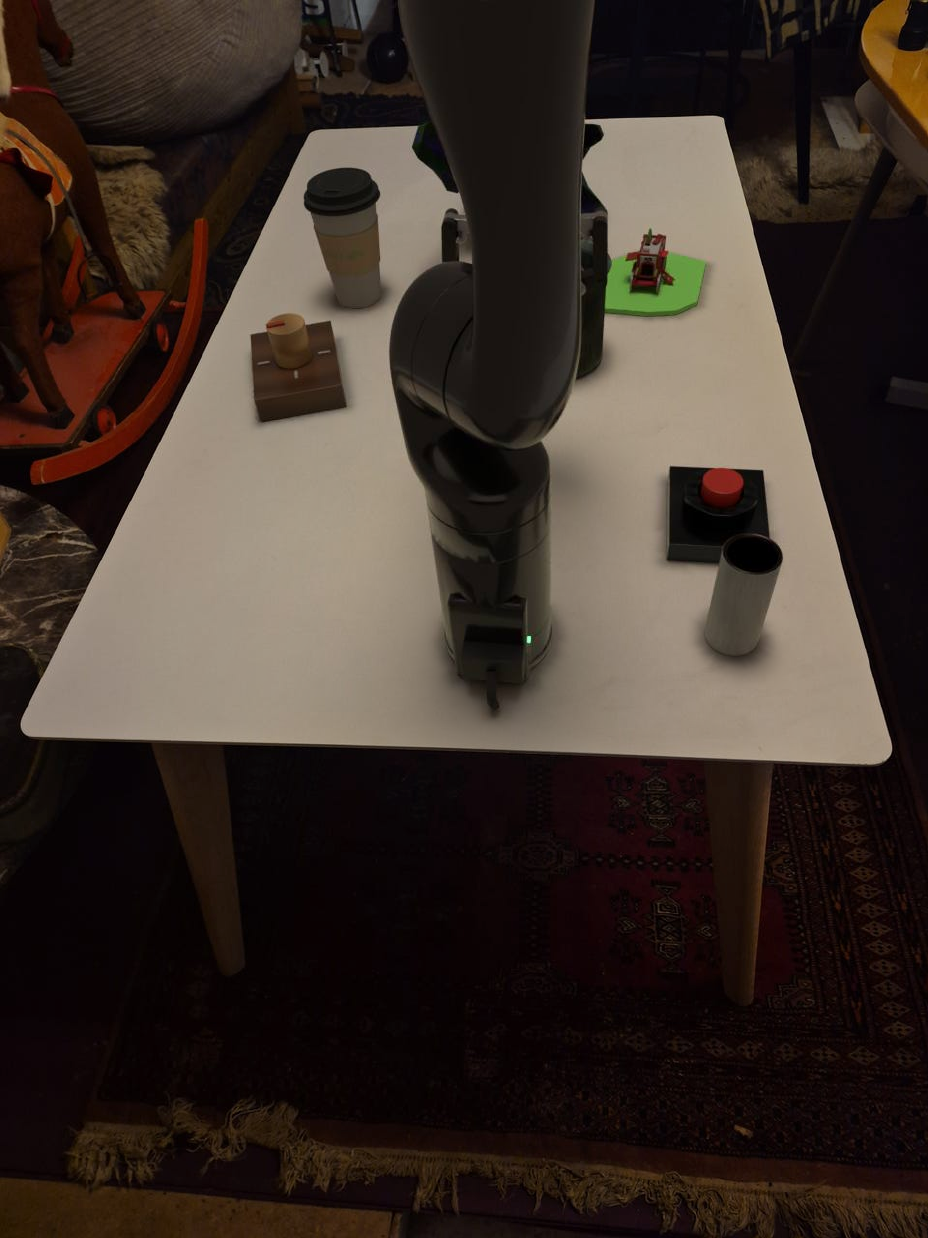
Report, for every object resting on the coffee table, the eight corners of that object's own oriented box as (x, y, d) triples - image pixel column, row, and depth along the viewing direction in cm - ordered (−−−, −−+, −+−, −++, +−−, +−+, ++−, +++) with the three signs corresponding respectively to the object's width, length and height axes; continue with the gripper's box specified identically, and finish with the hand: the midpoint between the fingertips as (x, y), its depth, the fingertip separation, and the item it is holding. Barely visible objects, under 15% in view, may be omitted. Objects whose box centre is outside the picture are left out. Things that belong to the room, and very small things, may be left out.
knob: (309, 344, 103) (301, 307, 99) (315, 364, 100) (306, 327, 96) (273, 351, 102) (263, 315, 99) (277, 372, 99) (267, 335, 96)
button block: (766, 566, 79) (775, 535, 76) (666, 560, 80) (671, 530, 77) (759, 486, 86) (767, 455, 83) (667, 482, 87) (671, 451, 84)
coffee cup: (331, 321, 111) (306, 205, 100) (319, 286, 117) (294, 173, 106) (401, 306, 112) (385, 189, 101) (386, 272, 118) (369, 158, 107)
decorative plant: (565, 260, 135) (574, 313, 110) (410, 195, 131) (383, 235, 106) (625, 118, 124) (650, 142, 99) (456, 42, 120) (439, 47, 95)
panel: (346, 406, 99) (341, 383, 97) (261, 422, 99) (253, 399, 96) (335, 341, 108) (330, 318, 106) (256, 355, 108) (249, 332, 105)
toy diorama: (707, 259, 114) (713, 213, 110) (693, 320, 105) (699, 272, 101) (595, 251, 118) (597, 206, 113) (572, 309, 109) (573, 262, 104)
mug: (601, 387, 98) (606, 289, 89) (476, 380, 101) (469, 284, 91) (610, 334, 105) (616, 238, 95) (493, 329, 107) (487, 235, 98)
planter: (750, 613, 75) (774, 529, 67) (764, 654, 72) (790, 572, 65) (699, 617, 76) (716, 534, 68) (710, 658, 73) (729, 576, 65)
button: (741, 508, 79) (744, 494, 77) (700, 506, 79) (703, 492, 78) (739, 482, 81) (742, 468, 80) (700, 480, 81) (702, 466, 80)
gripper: (425, 160, 65) (443, 350, 77) (616, 156, 63) (603, 351, 75) (439, 121, 69) (453, 306, 82) (617, 117, 68) (604, 306, 80)
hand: (525, 328), depth 78 cm, fingers open, 8 cm apart
